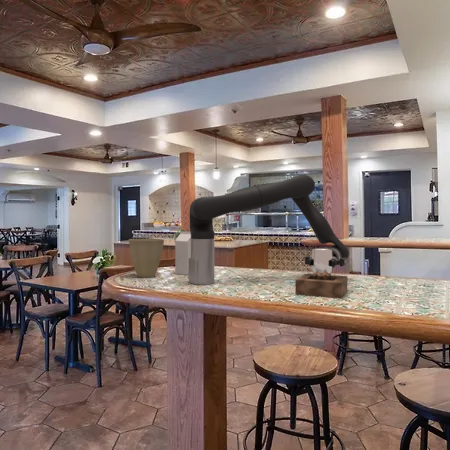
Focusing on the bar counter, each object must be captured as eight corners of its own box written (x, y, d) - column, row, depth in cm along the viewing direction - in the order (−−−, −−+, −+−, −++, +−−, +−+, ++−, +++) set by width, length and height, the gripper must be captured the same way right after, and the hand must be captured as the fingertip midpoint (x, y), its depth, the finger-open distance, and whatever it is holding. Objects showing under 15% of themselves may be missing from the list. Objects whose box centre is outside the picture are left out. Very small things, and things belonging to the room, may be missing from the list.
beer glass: (332, 291, 138) (333, 248, 137) (331, 295, 131) (332, 250, 131) (312, 290, 140) (312, 248, 140) (310, 293, 133) (310, 249, 133)
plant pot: (160, 279, 161) (160, 240, 161) (124, 279, 161) (124, 240, 161) (166, 273, 176) (166, 238, 176) (133, 273, 176) (133, 238, 176)
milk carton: (187, 275, 172) (187, 232, 171) (175, 274, 175) (175, 231, 175) (197, 273, 178) (197, 231, 177) (184, 272, 181) (185, 231, 181)
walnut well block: (295, 294, 131) (295, 279, 131) (305, 287, 145) (305, 273, 145) (341, 298, 125) (341, 282, 125) (347, 290, 139) (347, 276, 139)
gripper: (310, 247, 151) (300, 251, 136) (349, 249, 145) (343, 253, 130) (309, 267, 151) (300, 272, 136) (348, 269, 145) (343, 275, 130)
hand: (321, 263), depth 133 cm, fingers open, 7 cm apart
